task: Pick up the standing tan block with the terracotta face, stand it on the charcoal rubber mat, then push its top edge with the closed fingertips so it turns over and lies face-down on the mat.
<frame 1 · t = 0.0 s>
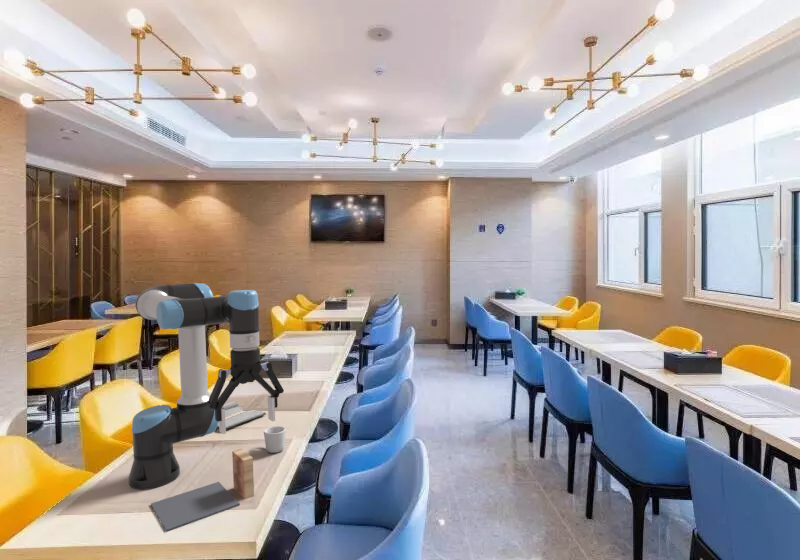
hand: (248, 426, 126), 28 cm above the table, tool pointing down, fingers open, 13 cm apart
cup: (273, 449, 178), on the table
tan block: (243, 491, 146), on the table
mat: (228, 420, 212), on the table
slate mat: (195, 505, 139), on the table
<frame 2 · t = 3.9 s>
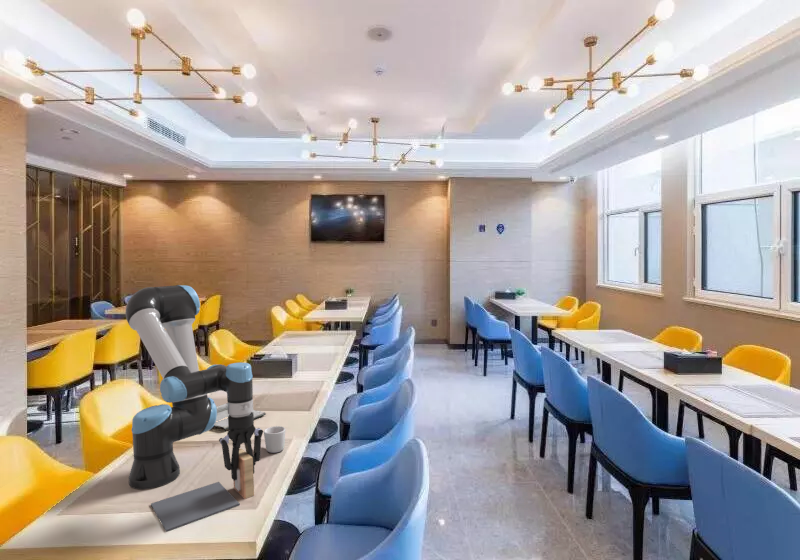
hand: (243, 486, 146), 2 cm above the table, tool pointing down, fingers closed on tan block, 3 cm apart
tan block: (243, 491, 146), on the table, touching gripper
everything else where it was.
when the fingers open (4 cm above the table, at t = 8.7 s): tan block drops 1 cm, resting on slate mat.
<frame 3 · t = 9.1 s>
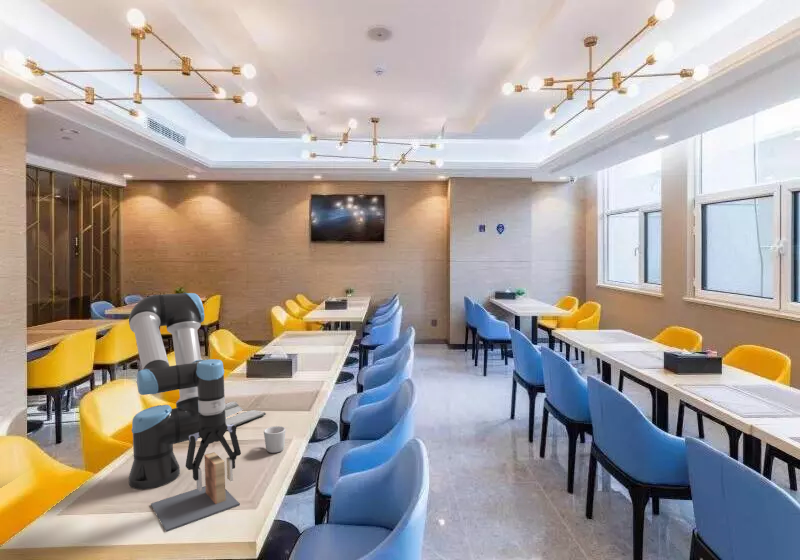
hand: (215, 484, 143), 4 cm above the table, tool pointing down, fingers open, 8 cm apart
tan block: (215, 496, 143), point 1 cm above the table, touching slate mat
everything else where it was.
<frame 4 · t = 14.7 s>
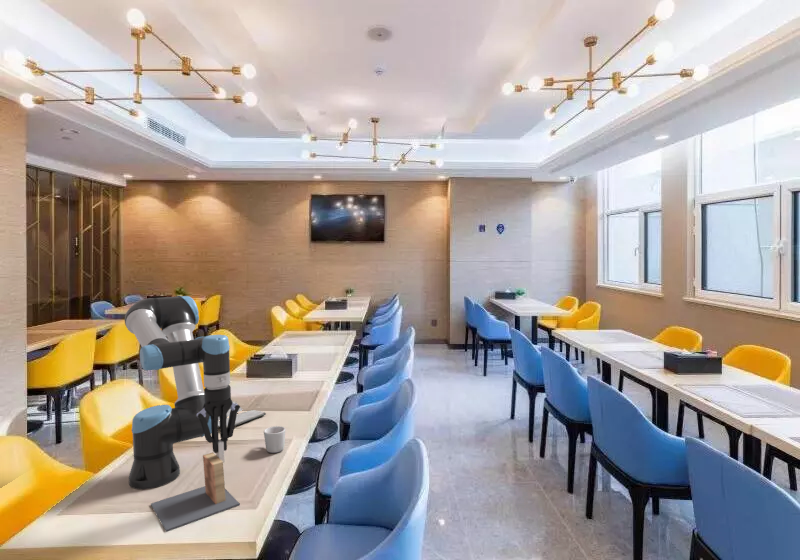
hand: (220, 461, 144), 11 cm above the table, tool pointing down, fingers closed
tan block: (215, 496, 143), point 1 cm above the table, touching gripper, slate mat
everything else where it was.
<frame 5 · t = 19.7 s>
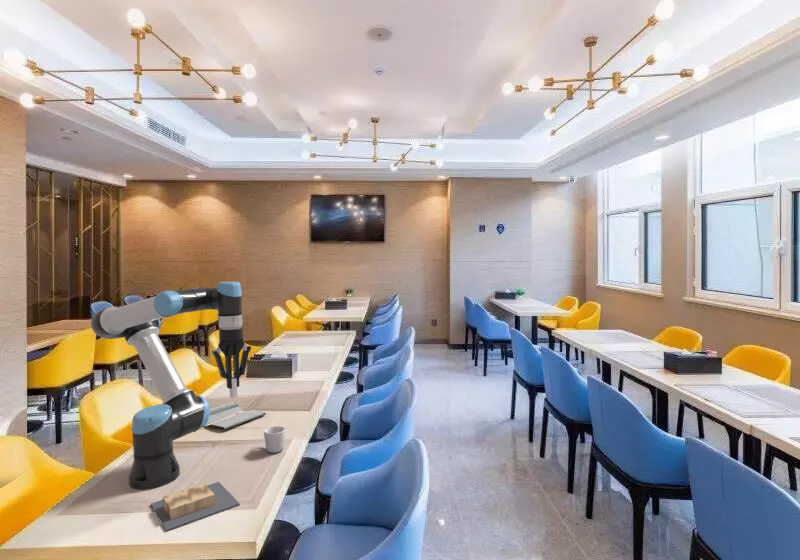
hand: (233, 396, 158), 26 cm above the table, tool pointing down, fingers closed
tan block: (209, 493, 142), point 2 cm above the table, tilted 90°, touching slate mat
everything else where it was.
at the end: tan block tilted 90°; tan block inside the target area (0.3 cm from its centre), point 2.0 cm above the table; tan block touching slate mat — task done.
